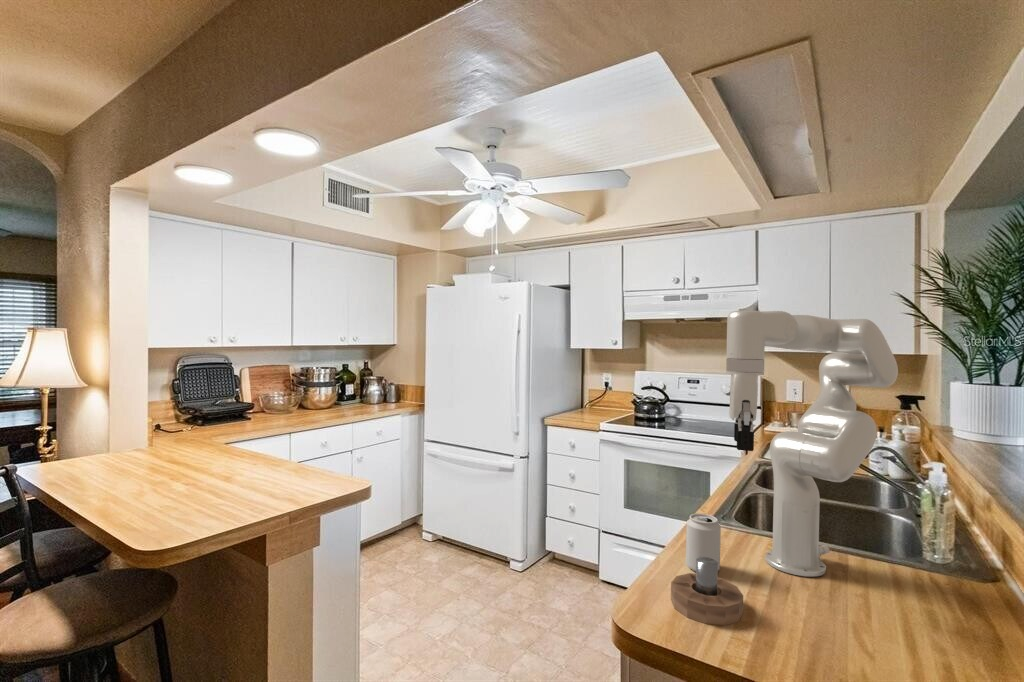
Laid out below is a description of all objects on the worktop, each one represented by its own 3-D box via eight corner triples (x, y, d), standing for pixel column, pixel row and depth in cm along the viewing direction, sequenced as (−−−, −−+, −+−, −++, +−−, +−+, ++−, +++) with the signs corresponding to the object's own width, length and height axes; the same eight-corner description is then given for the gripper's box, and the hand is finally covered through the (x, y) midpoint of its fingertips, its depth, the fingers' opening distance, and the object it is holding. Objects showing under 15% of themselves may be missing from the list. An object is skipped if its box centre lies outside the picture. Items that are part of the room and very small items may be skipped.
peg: (706, 599, 103) (707, 555, 103) (721, 609, 99) (722, 564, 99) (691, 603, 101) (691, 558, 101) (706, 613, 98) (707, 567, 98)
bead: (705, 585, 109) (706, 569, 109) (756, 616, 97) (757, 598, 97) (658, 596, 104) (658, 580, 104) (706, 630, 92) (706, 611, 92)
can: (723, 577, 113) (724, 524, 113) (687, 574, 114) (689, 521, 114) (716, 563, 120) (717, 513, 120) (683, 559, 122) (684, 510, 121)
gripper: (724, 365, 119) (723, 437, 119) (727, 368, 103) (726, 452, 103) (760, 366, 116) (758, 440, 116) (768, 370, 100) (767, 455, 100)
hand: (743, 445), depth 110 cm, fingers open, 9 cm apart
